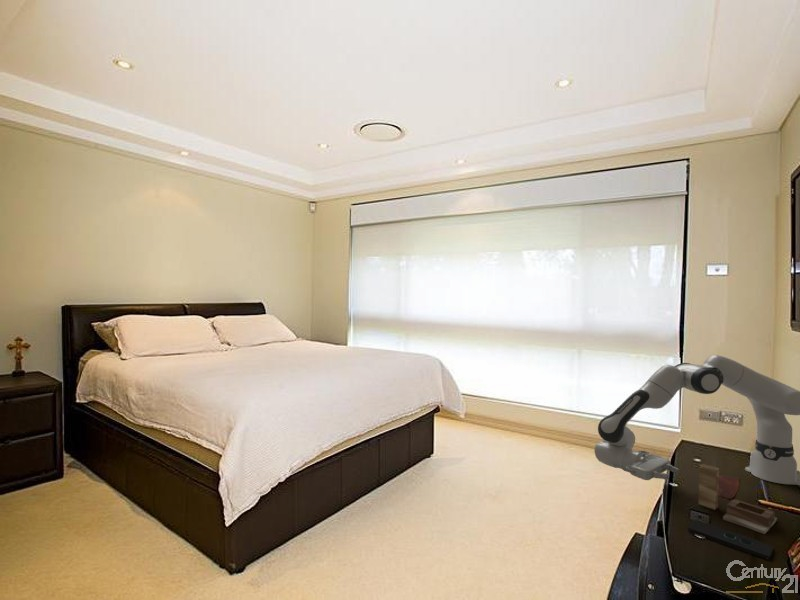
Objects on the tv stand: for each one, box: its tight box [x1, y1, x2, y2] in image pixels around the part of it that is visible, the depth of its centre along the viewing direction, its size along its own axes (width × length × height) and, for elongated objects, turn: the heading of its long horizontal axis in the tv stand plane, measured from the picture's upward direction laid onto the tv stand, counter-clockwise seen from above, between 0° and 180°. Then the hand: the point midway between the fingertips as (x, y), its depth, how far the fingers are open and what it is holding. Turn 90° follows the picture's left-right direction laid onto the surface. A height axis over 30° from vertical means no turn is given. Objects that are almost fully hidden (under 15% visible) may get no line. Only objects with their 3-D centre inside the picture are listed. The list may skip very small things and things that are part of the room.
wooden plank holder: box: [722, 498, 778, 535], centre depth 145 cm, size 14×11×4 cm
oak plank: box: [698, 463, 720, 511], centre depth 155 cm, size 3×5×14 cm, turn 37°
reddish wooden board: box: [718, 474, 740, 500], centre depth 172 cm, size 27×10×2 cm, turn 135°
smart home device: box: [687, 519, 775, 560], centre depth 133 cm, size 8×2×20 cm
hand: (673, 474), depth 164 cm, fingers open, 8 cm apart
